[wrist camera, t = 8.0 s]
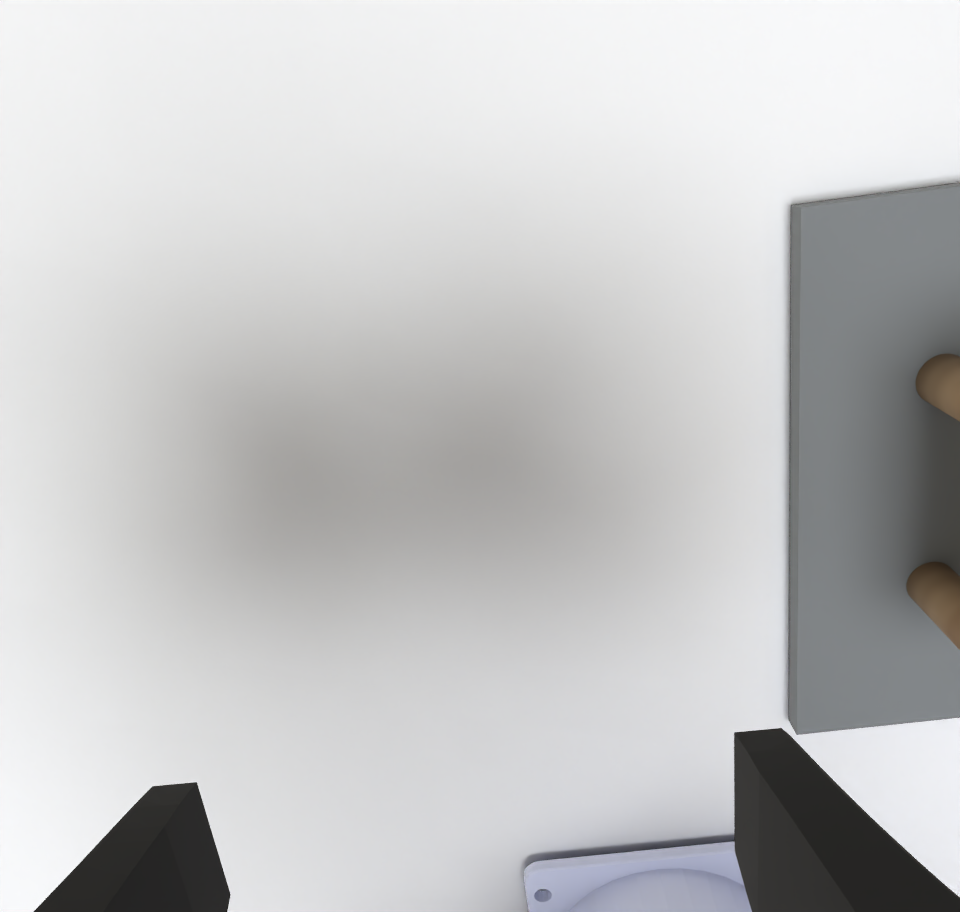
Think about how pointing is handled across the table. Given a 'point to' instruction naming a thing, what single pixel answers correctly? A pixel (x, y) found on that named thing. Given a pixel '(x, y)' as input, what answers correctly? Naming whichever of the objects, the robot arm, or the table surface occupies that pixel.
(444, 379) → the table surface
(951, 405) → the oak stool
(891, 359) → the charcoal mat
